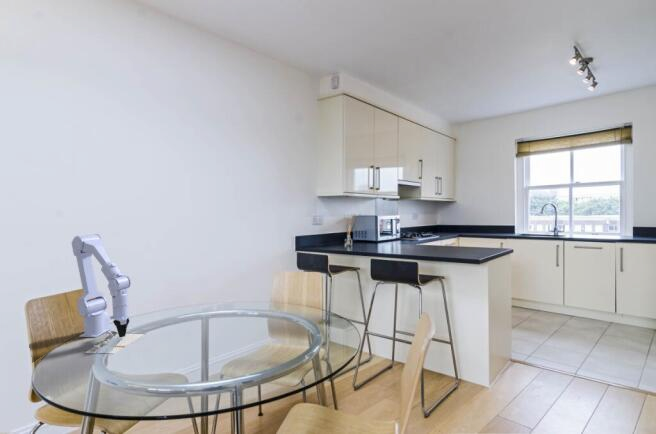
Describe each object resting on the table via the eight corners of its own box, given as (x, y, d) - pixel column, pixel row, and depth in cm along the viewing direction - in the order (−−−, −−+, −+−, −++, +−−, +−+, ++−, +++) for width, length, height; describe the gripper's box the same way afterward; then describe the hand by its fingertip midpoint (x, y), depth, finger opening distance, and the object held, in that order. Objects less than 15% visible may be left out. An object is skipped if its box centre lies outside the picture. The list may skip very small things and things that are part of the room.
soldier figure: (85, 354, 136) (101, 333, 147) (96, 360, 137) (112, 339, 148) (95, 342, 134) (111, 322, 145) (107, 349, 136) (122, 328, 147)
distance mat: (120, 332, 155) (120, 332, 155) (145, 333, 154) (145, 333, 154) (84, 352, 135) (84, 352, 135) (113, 354, 134) (113, 353, 134)
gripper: (107, 302, 150) (109, 333, 151) (111, 311, 139) (113, 344, 139) (126, 299, 154) (127, 329, 155) (131, 307, 143) (133, 340, 144)
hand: (122, 336), depth 148 cm, fingers closed
